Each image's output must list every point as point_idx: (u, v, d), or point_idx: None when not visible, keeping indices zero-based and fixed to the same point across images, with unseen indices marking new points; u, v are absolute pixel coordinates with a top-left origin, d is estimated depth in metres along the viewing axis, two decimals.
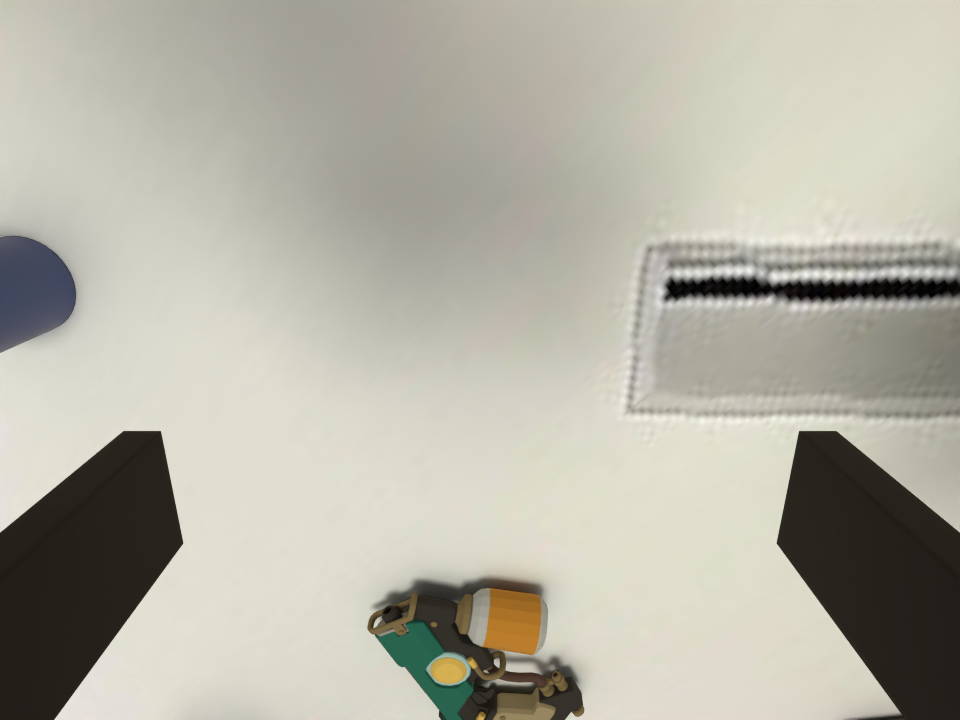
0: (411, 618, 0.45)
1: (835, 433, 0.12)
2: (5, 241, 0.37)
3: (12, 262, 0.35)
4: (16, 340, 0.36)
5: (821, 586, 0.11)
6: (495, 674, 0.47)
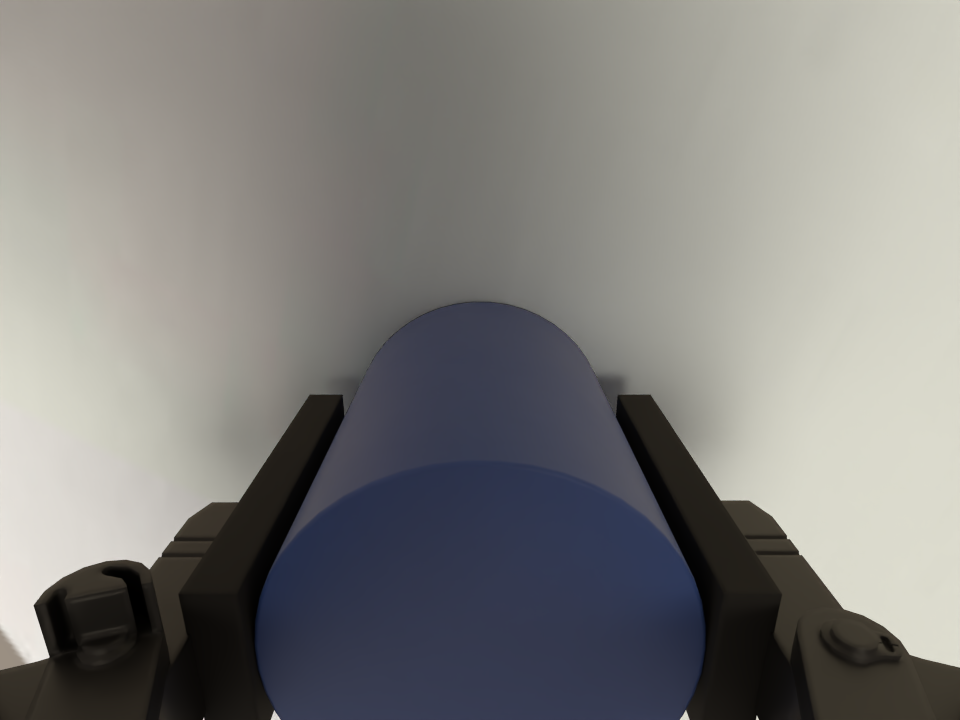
0: None
1: (649, 397, 0.14)
2: (467, 321, 0.13)
3: (560, 370, 0.12)
4: None
5: None
6: None
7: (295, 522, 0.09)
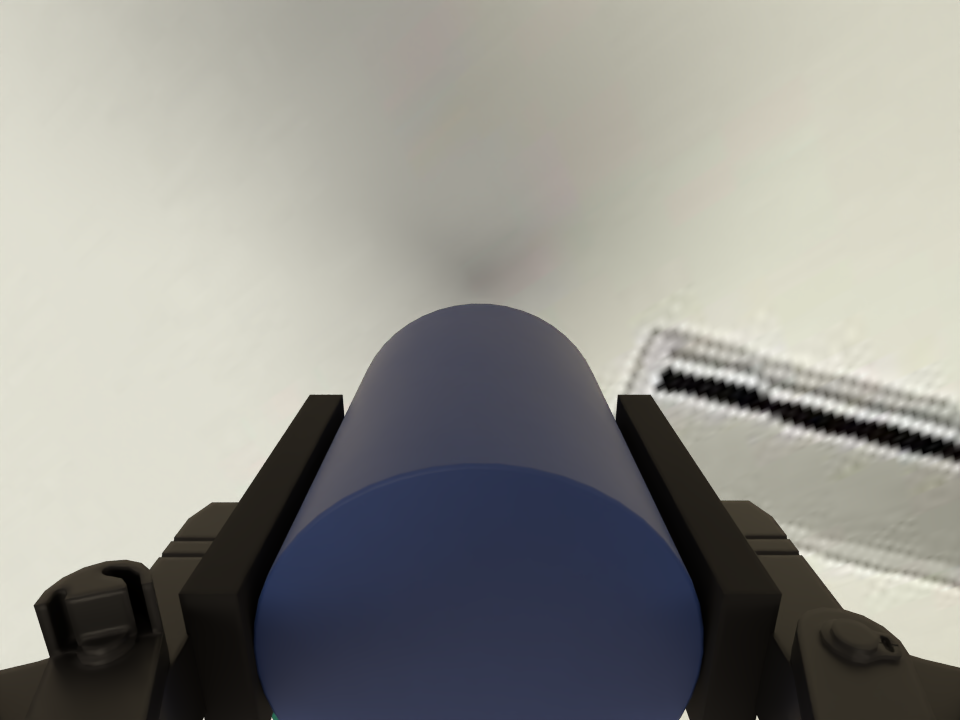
0: None
1: (649, 397, 0.14)
2: (466, 323, 0.13)
3: (559, 372, 0.12)
4: None
5: None
6: None
7: (294, 524, 0.09)
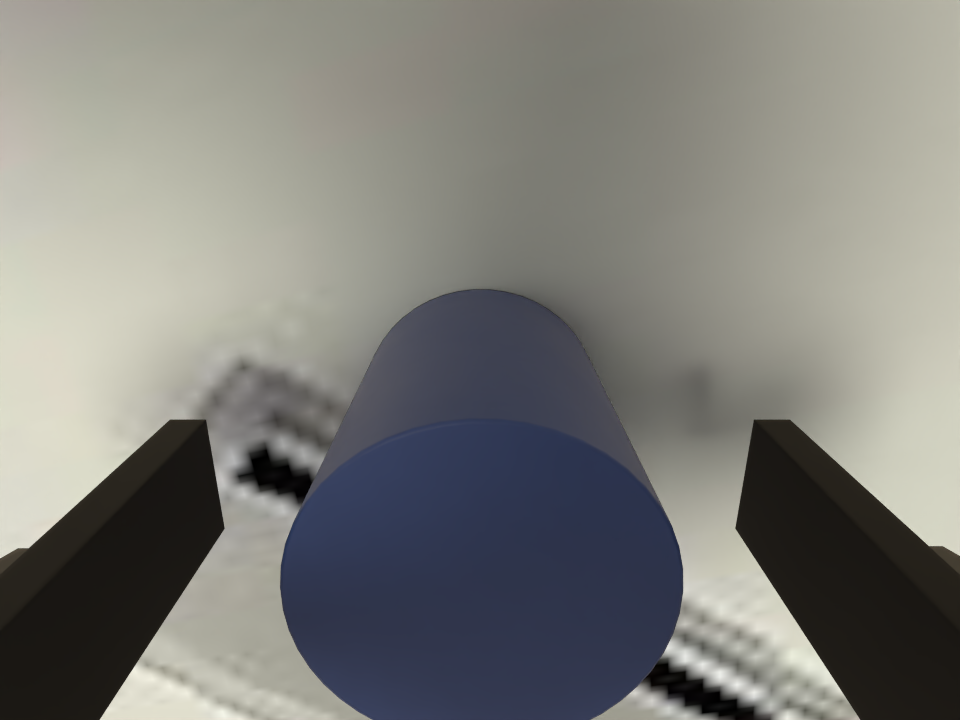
0: None
1: (788, 422, 0.13)
2: (469, 306, 0.14)
3: (555, 348, 0.13)
4: None
5: (773, 567, 0.12)
6: None
7: (316, 478, 0.10)
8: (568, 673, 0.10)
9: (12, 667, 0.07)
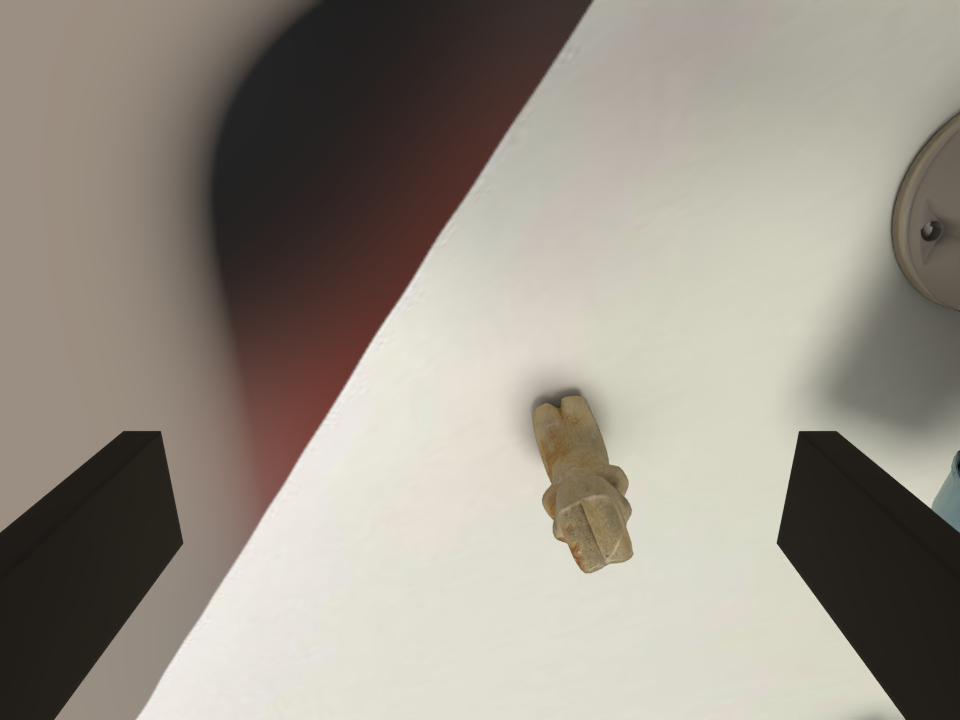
0: None
1: (834, 434, 0.12)
2: None
3: None
4: None
5: (821, 586, 0.11)
6: None
7: None
8: None
9: None
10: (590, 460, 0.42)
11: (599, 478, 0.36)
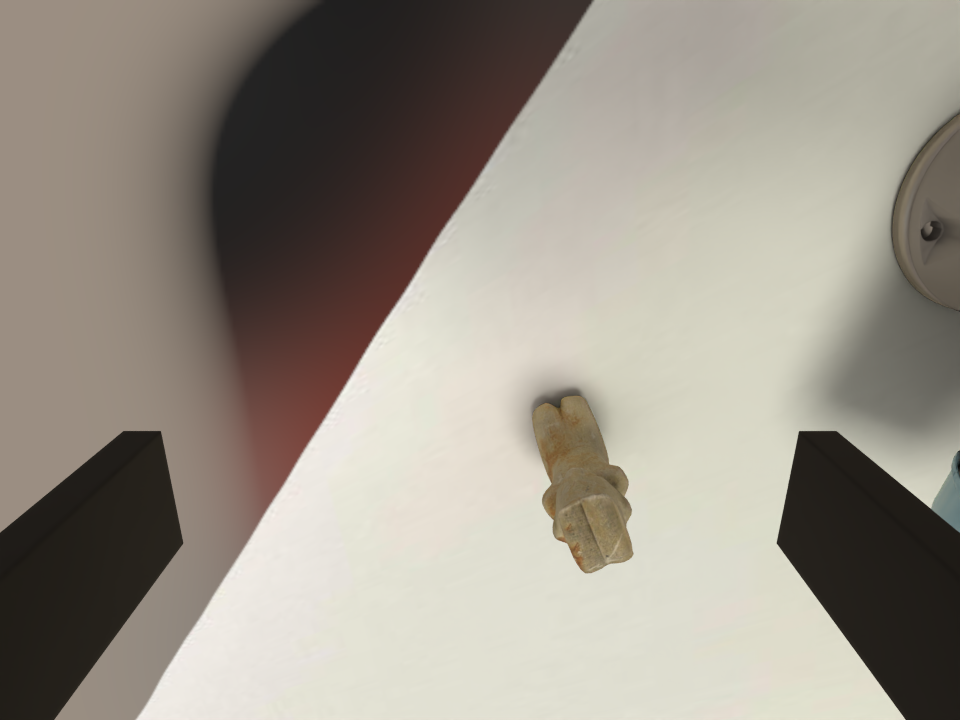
0: None
1: (834, 434, 0.12)
2: None
3: None
4: None
5: (821, 586, 0.11)
6: None
7: None
8: None
9: None
10: (590, 460, 0.42)
11: (599, 478, 0.36)
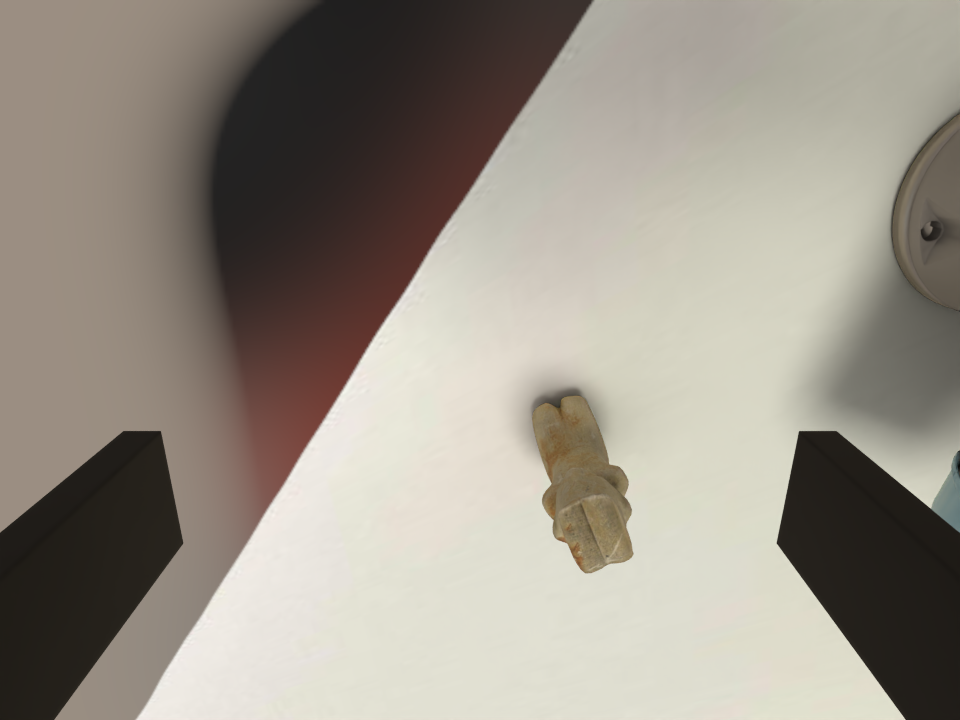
0: None
1: (834, 434, 0.12)
2: None
3: None
4: None
5: (821, 586, 0.11)
6: None
7: None
8: None
9: None
10: (590, 460, 0.42)
11: (599, 478, 0.36)
